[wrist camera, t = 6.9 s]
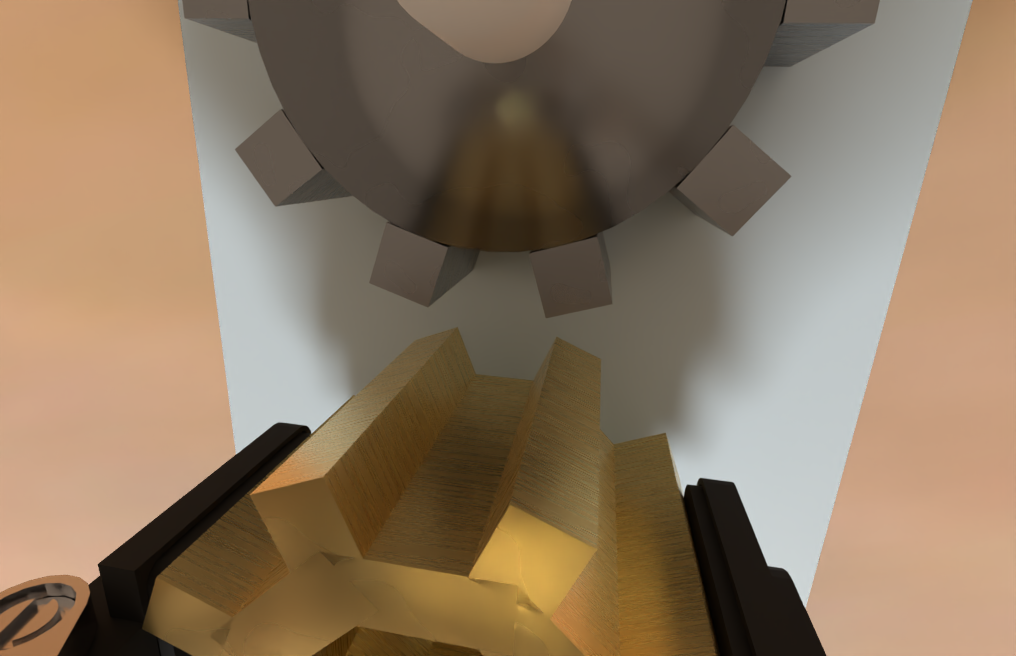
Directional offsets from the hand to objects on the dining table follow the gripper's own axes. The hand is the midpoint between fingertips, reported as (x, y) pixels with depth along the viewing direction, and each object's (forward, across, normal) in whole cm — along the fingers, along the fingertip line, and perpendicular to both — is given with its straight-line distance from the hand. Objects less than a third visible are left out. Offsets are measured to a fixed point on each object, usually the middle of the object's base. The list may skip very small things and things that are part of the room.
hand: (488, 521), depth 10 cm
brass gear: (+1, 0, 0) cm, 1 cm away
